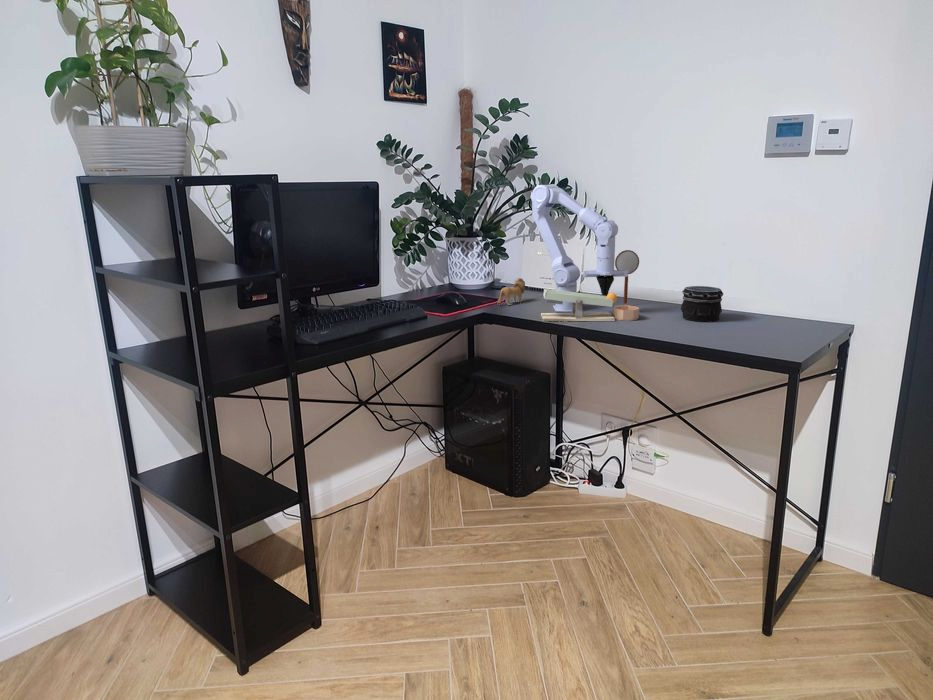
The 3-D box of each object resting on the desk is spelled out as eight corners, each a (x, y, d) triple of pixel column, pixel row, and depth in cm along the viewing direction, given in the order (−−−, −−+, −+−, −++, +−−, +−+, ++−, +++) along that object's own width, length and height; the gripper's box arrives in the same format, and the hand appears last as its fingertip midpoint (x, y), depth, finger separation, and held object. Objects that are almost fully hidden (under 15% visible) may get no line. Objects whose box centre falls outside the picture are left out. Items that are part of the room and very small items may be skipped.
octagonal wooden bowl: (611, 315, 223) (611, 305, 222) (635, 315, 223) (635, 305, 222) (615, 320, 215) (616, 310, 214) (640, 320, 215) (641, 310, 214)
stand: (540, 315, 225) (541, 294, 223) (609, 314, 224) (609, 293, 222) (543, 322, 214) (543, 300, 213) (615, 321, 214) (615, 299, 212)
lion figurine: (516, 300, 253) (516, 276, 250) (528, 301, 249) (528, 278, 247) (493, 306, 242) (493, 282, 239) (505, 308, 238) (505, 283, 236)
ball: (613, 303, 219) (603, 300, 219) (617, 293, 218) (607, 290, 218) (615, 305, 216) (605, 302, 216) (619, 295, 215) (609, 292, 215)
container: (716, 314, 222) (719, 285, 219) (725, 323, 210) (727, 292, 207) (677, 314, 224) (679, 285, 221) (683, 322, 211) (685, 291, 209)
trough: (541, 295, 227) (542, 285, 226) (607, 303, 227) (609, 293, 226) (544, 302, 215) (545, 292, 214) (613, 310, 215) (615, 300, 214)
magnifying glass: (614, 306, 237) (616, 250, 232) (612, 305, 239) (614, 250, 234) (637, 306, 238) (640, 250, 233) (636, 305, 240) (639, 249, 234)
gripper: (585, 259, 217) (584, 300, 221) (630, 259, 217) (628, 299, 220) (582, 257, 224) (581, 296, 227) (625, 256, 223) (624, 296, 227)
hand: (604, 298), depth 224 cm, fingers closed, pressing on trough
